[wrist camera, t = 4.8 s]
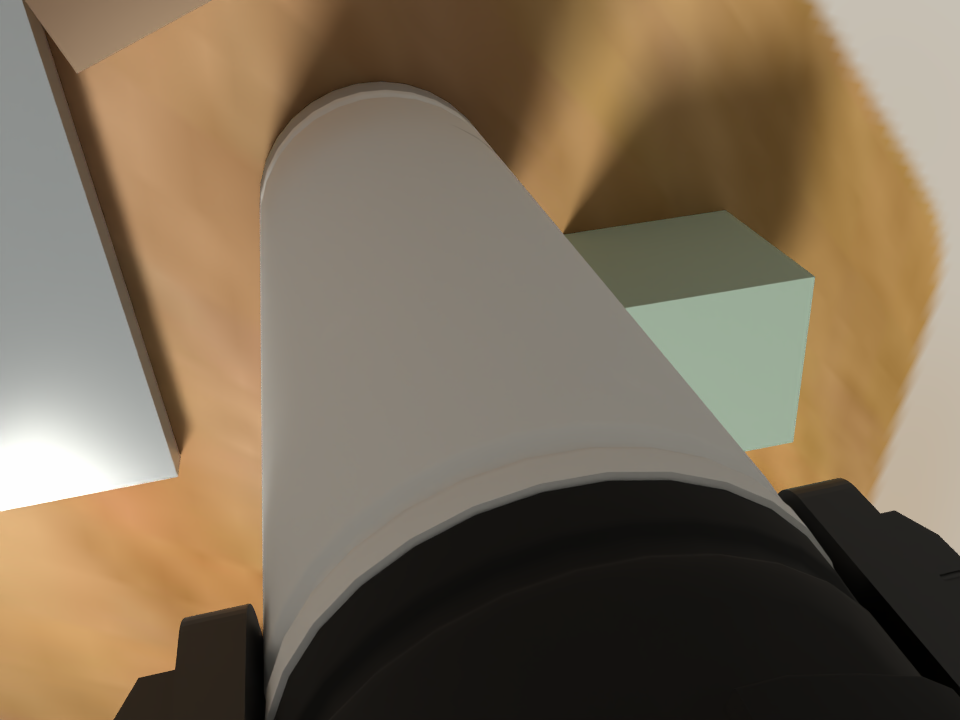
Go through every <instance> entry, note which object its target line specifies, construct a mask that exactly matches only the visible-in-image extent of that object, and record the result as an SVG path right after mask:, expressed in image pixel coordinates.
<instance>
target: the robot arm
mask: <svg viewBox="0 0 960 720" xmlns="http://www.w3.org/2000/svg"><path fill="white" fill-rule="evenodd" d="M778 495H779V497H780V498H781V499H782V501H783V502H784V503H786V504H787V505H788V506H790V507H791V509H792V510H793V511H794V512H795V513H796V515H797V516H798V517H799V518H800V519H801V521H802V522H803V523H804V524H805V525H806V527H807V528H808V529H809V530H810V532H811V533H812V535H813V536H814V537H815V539H816V540H817V542H818V543H819V544H820V546H821V547H822V549H823V550H824V551H825V553H826V554H827V556H828V557H829V558H830V560H831V561H832V564H833V567H834V570H835V571H836V572H837V574H838V575H839V576H840V578H841V579H842V581H843V582H844V583H845V585H846V586H847V588H848V589H849V590H850V592H851V593H852V595H853V596H854V597H855V599H856V600H857V601H858V603H859V604H860V605H861V606H862V607H864V608H865V609H866V610H868V611H869V612H870V614H871V615H872V616H873V617H874V618H875V620H876V621H877V622H878V623H879V625H880V626H881V627H882V628H883V629H884V631H885V632H886V633H887V634H888V636H889V637H890V638H891V639H892V641H893V642H894V643H895V644H896V645H897V647H898V648H899V649H900V650H901V652H902V653H903V654H904V655H905V656H906V658H907V659H908V660H909V661H910V663H911V664H912V665H913V666H914V668H915V669H916V670H917V671H918V672H919V674H920V675H921V676H922V677H924V678H927V679H929V680H932V681H934V682H937V683H939V684H942V685H944V686H947V687H949V688H952V689H953V690H954V691H955V692H956V693H957V695H958V696H959V697H960V556H959V555H958V554H957V553H956V552H955V551H954V550H953V549H952V548H951V547H950V546H949V545H948V544H947V543H946V542H945V541H944V540H943V539H942V538H941V537H940V536H939V535H938V534H936V533H934V532H932V531H930V530H929V529H927V528H925V527H923V526H922V525H920V524H918V523H916V522H914V521H913V520H911V519H909V518H907V517H906V516H903V515H902V514H900V513H898V512H896V511H891V512H886V513H881V514H880V513H879V512H878V510H877V509H876V508H875V507H874V506H873V505H872V504H871V503H870V502H869V501H868V500H867V499H866V498H865V497H864V496H863V495H862V494H861V493H860V492H859V491H858V489H857V488H856V487H855V486H854V485H852V484H851V483H850V482H849V481H847V480H845V479H842V478H837V479H832V480H827V481H823V482H818V483H813V484H809V485H804V486H800V487H795V488H790V489H786V490H782V491H781V492H779V494H778ZM265 706H266V699H265V695H264V658H263V636H262V633H261V629H260V626H259V623H258V619H257V616H256V613H255V611H254V608H253V606H252V605H251V604H246V605H241V606H237V607H232V608H228V609H223V610H218V611H214V612H209V613H205V614H200V615H195V616H191V617H186V618H184V619H183V620H182V622H181V625H180V630H179V639H178V648H177V658H176V667H175V670H172V671H168V672H163V673H159V674H155V675H150V676H146V677H141V678H138V680H137V682H136V683H135V685H134V687H133V688H132V690H131V692H130V693H129V695H128V697H127V698H126V700H125V702H124V703H123V705H122V707H121V708H120V710H119V712H118V713H117V715H116V717H115V718H114V720H265Z"/></svg>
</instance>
